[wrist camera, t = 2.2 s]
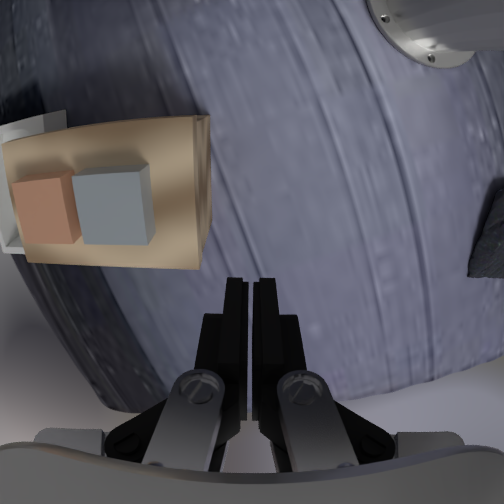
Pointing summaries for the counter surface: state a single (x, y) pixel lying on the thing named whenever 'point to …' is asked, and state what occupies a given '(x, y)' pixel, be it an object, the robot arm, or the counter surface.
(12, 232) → the tray
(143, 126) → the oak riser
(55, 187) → the terracotta tile
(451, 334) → the counter surface
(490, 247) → the black flat block
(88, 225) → the slate tile
